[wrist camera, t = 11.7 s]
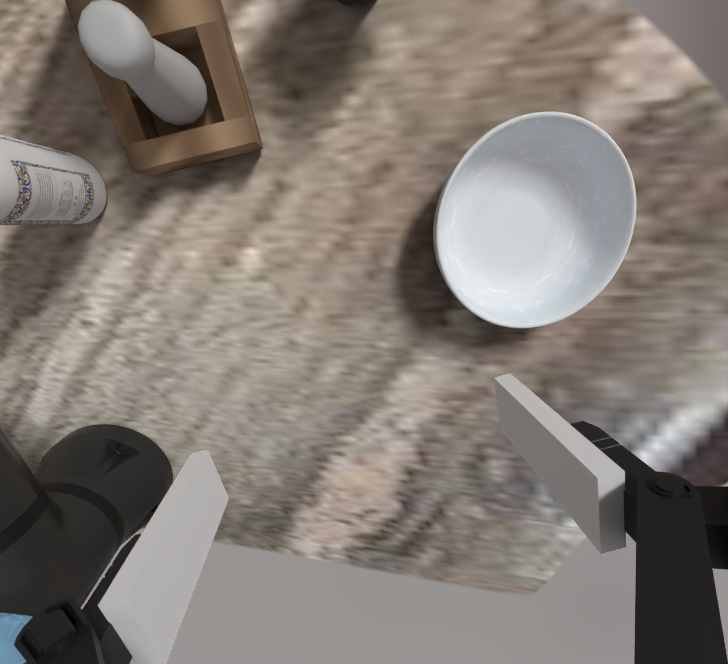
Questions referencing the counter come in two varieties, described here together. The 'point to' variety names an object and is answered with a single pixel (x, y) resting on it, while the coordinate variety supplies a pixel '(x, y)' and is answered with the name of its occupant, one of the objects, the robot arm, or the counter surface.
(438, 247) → the serving bowl
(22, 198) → the bath foam
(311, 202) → the counter surface
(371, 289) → the counter surface
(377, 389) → the counter surface
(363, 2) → the character mug
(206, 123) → the socket station
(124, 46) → the salt shaker
